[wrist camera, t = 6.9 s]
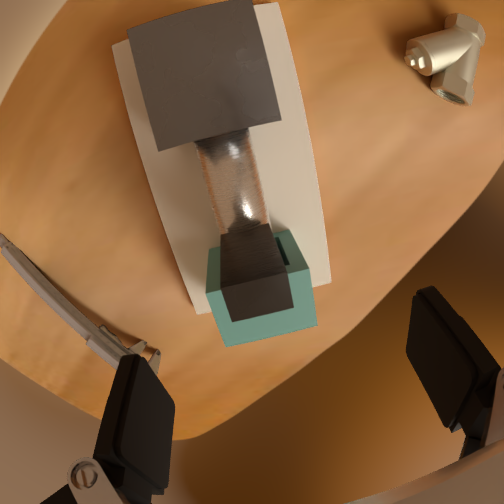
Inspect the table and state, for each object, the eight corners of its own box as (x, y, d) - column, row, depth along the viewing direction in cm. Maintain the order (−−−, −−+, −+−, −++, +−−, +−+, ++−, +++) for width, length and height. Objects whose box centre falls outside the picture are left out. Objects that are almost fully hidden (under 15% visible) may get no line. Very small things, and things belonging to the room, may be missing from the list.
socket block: (289, 229, 24) (309, 268, 19) (298, 279, 26) (317, 325, 21) (208, 249, 24) (205, 293, 19) (224, 296, 26) (225, 347, 21)
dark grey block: (243, 25, 17) (250, -4, 12) (265, 116, 20) (281, 120, 15) (152, 49, 17) (126, 30, 12) (175, 139, 20) (158, 151, 15)
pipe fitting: (391, 70, 20) (451, 105, 21) (413, 66, 17) (477, 107, 18) (410, -1, 17) (467, 36, 18) (431, -13, 14) (492, 32, 15)
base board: (275, 6, 17) (277, 2, 16) (328, 276, 28) (331, 282, 27) (115, 47, 18) (111, 45, 17) (197, 307, 28) (197, 314, 27)
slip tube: (238, 93, 18) (250, 81, 10) (281, 278, 24) (307, 362, 16) (187, 106, 18) (159, 105, 10) (238, 288, 25) (247, 376, 16)
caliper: (162, 349, 30) (154, 396, 25) (157, 354, 30) (148, 401, 25) (2, 231, 23) (-35, 261, 17) (-1, 239, 23) (-36, 270, 18)
